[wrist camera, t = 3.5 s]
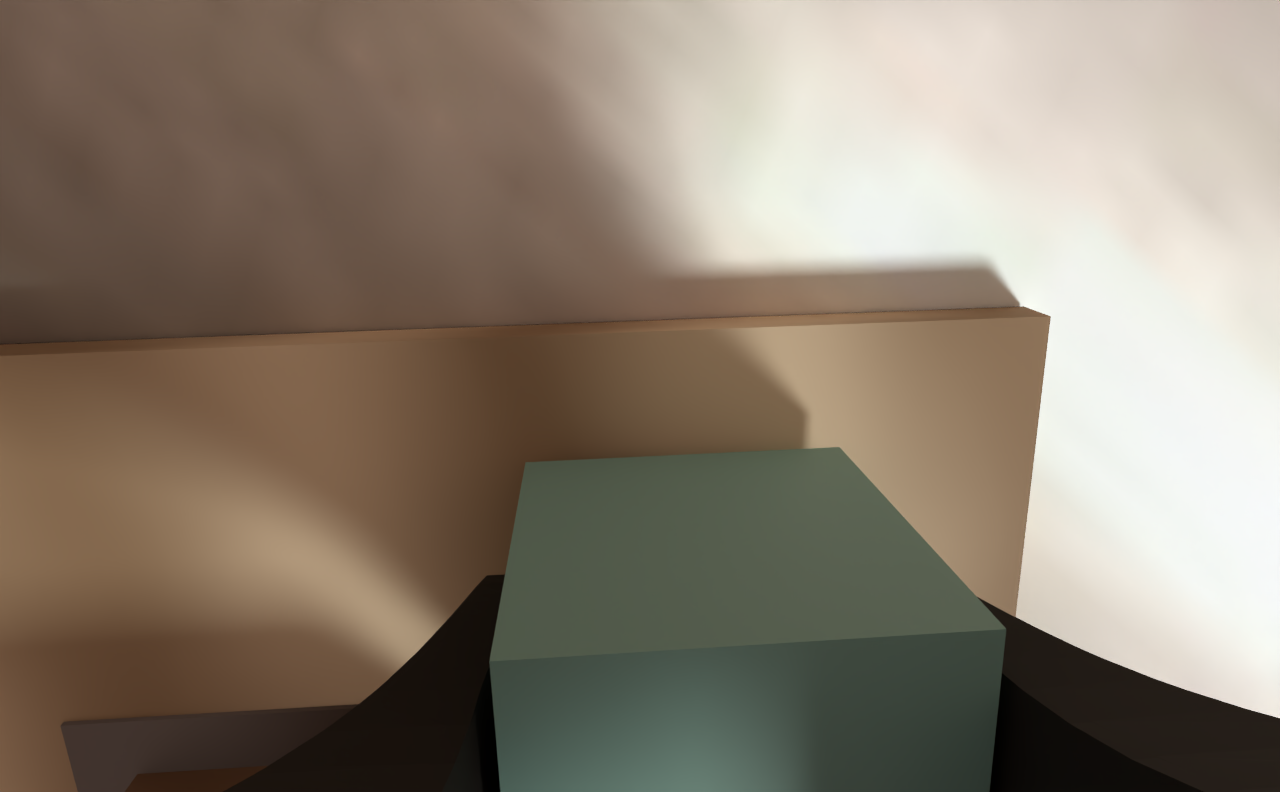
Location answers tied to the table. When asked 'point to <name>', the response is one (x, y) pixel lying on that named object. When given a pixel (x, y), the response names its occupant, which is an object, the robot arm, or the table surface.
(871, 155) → the table surface
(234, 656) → the board
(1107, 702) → the robot arm
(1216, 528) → the table surface
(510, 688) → the teal block
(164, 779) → the walnut base block
